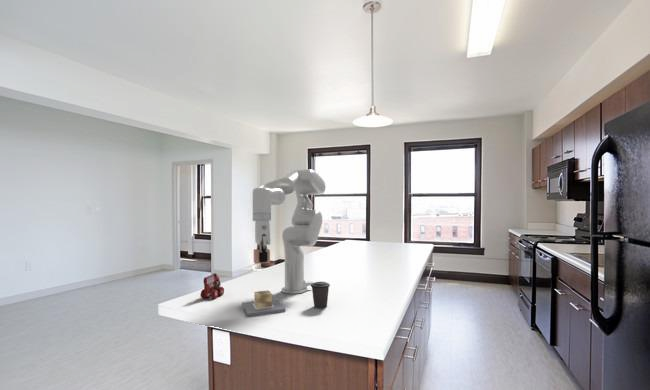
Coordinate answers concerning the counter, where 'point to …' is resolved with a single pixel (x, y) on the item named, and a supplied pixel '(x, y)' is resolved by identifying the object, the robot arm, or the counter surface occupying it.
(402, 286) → the counter surface
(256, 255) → the terracotta brick
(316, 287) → the coffee cup
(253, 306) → the baseplate
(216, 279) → the toy fire truck
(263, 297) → the oak brick
